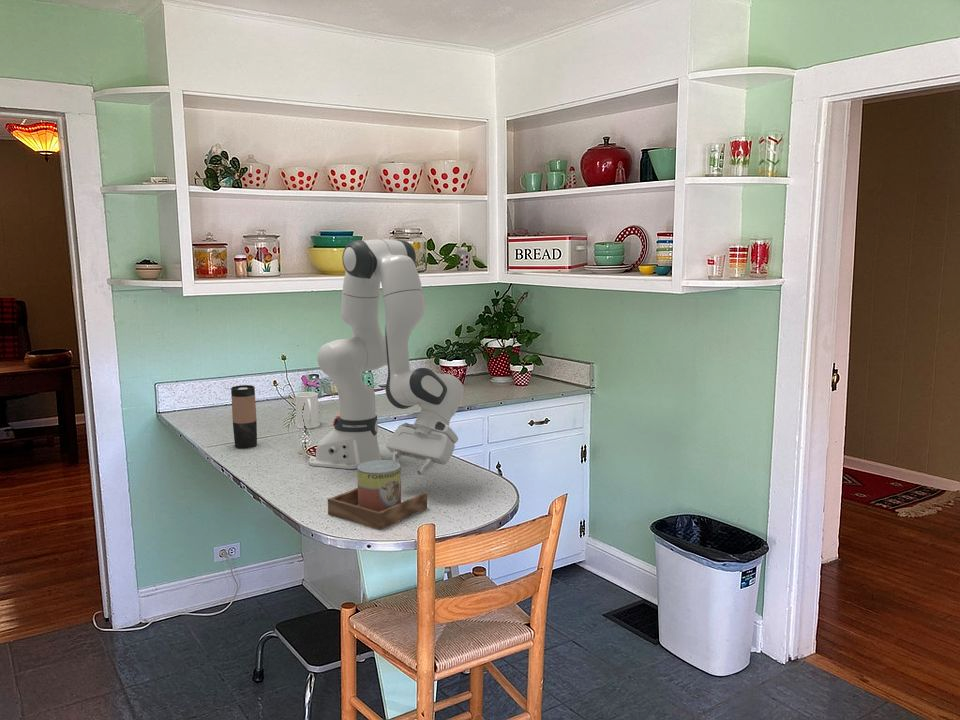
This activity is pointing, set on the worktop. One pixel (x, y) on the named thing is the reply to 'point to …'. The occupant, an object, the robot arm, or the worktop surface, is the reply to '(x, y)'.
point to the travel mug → (244, 416)
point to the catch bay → (349, 510)
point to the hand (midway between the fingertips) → (406, 470)
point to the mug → (307, 410)
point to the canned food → (379, 484)
